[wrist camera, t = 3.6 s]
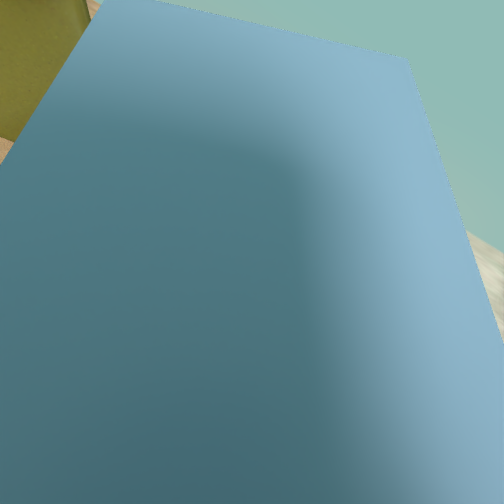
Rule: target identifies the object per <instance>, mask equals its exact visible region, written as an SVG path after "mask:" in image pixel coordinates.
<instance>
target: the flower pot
mask: <svg viewBox="0 0 504 504" xmlns="http://www.w3.org/2000/svg"><path fill="white" fill-rule="evenodd" d="M90 22H91V19H90V15H89V11H88V7H87V3H86V0H0V137H2V138H5V139H7V140H10V141H13V142H15V141H16V140H17V138H18V136H19V135H20V133H21V132H22V130H23V128H24V127H25V125H26V124H27V122H28V121H29V119H30V117H31V116H32V114H33V113H34V111H35V109H36V108H37V106H38V105H39V103H40V101H41V100H42V98H43V97H44V95H45V94H46V92H47V90H48V89H49V87H50V86H51V84H52V82H53V81H54V79H55V78H56V76H57V74H58V73H59V71H60V70H61V68H62V67H63V65H64V63H65V62H66V60H67V59H68V57H69V55H70V54H71V52H72V51H73V49H74V47H75V46H76V44H77V43H78V41H79V40H80V38H81V36H82V35H83V33H84V32H85V30H86V28H87V27H88V25H89V24H90Z"/></svg>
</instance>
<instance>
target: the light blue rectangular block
mask: <svg viewBox="0 0 504 504" xmlns="http://www.w3.org/2000/svg"><path fill="white" fill-rule="evenodd" d="M0 504H504V343H503V341H502V338H501V335H500V332H499V329H498V326H497V323H496V320H495V317H494V314H493V311H492V308H491V305H490V302H489V299H488V296H487V293H486V290H485V287H484V284H483V281H482V278H481V275H480V272H479V269H478V266H477V264H476V261H475V258H474V255H473V252H472V249H471V246H470V243H469V240H468V237H467V234H466V231H465V228H464V225H463V222H462V219H461V216H460V214H459V210H458V207H457V204H456V201H455V198H454V195H453V192H452V190H451V187H450V184H449V181H448V178H447V175H446V172H445V169H444V166H443V163H442V160H441V157H440V154H439V151H438V148H437V145H436V142H435V139H434V136H433V133H432V130H431V127H430V125H429V121H428V118H427V116H426V112H425V110H424V107H423V104H422V101H421V98H420V95H419V92H418V89H417V86H416V83H415V80H414V77H413V74H412V71H411V68H410V65H409V62H408V59H407V58H403V57H398V56H394V55H390V54H385V53H381V52H377V51H372V50H368V49H363V48H359V47H355V46H351V45H346V44H342V43H338V42H334V41H329V40H325V39H321V38H316V37H311V36H308V35H303V34H299V33H295V32H290V31H286V30H282V29H277V28H273V27H269V26H264V25H260V24H256V23H251V22H247V21H243V20H239V19H234V18H230V17H226V16H221V15H217V14H212V13H208V12H204V11H200V10H195V9H191V8H186V7H182V6H178V5H174V4H169V3H165V2H160V1H156V0H104V1H103V3H102V5H101V6H100V8H99V9H98V11H97V13H96V14H95V16H94V17H93V19H92V20H91V22H90V24H89V25H88V27H87V28H86V30H85V32H84V33H83V35H82V36H81V38H80V40H79V41H78V43H77V44H76V46H75V47H74V49H73V51H72V52H71V54H70V55H69V57H68V59H67V60H66V62H65V63H64V65H63V67H62V68H61V70H60V71H59V73H58V74H57V76H56V78H55V79H54V81H53V82H52V84H51V86H50V87H49V89H48V90H47V92H46V94H45V95H44V97H43V98H42V100H41V101H40V103H39V105H38V106H37V108H36V109H35V111H34V113H33V114H32V116H31V117H30V119H29V121H28V122H27V124H26V125H25V127H24V128H23V130H22V132H21V133H20V135H19V136H18V138H17V140H16V141H15V143H14V144H13V146H12V148H11V149H10V151H9V152H8V154H7V155H6V157H5V159H4V160H3V162H2V163H1V165H0Z"/></svg>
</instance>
